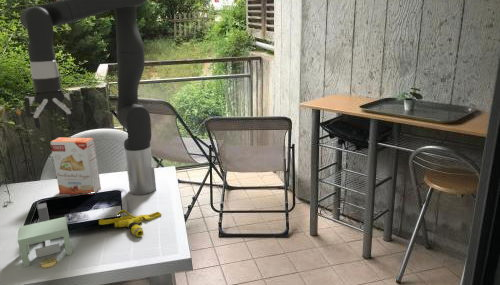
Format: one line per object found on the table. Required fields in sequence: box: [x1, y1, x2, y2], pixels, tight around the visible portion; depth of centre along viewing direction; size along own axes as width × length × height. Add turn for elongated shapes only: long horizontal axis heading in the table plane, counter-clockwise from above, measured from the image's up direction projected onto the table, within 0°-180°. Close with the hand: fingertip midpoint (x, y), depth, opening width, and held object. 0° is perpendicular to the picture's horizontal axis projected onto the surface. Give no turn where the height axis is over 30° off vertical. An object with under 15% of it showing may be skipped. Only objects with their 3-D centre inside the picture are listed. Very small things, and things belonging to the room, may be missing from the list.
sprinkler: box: [98, 209, 162, 238], centre depth 126 cm, size 19×4×15 cm
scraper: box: [34, 202, 61, 258], centre depth 117 cm, size 6×16×9 cm, turn 27°
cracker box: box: [50, 136, 101, 195], centre depth 150 cm, size 14×6×21 cm, turn 83°
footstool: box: [17, 216, 73, 268], centre depth 111 cm, size 12×8×8 cm, turn 117°
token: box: [39, 256, 58, 269], centre depth 108 cm, size 4×4×1 cm
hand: (54, 127), depth 127 cm, fingers open, 8 cm apart
